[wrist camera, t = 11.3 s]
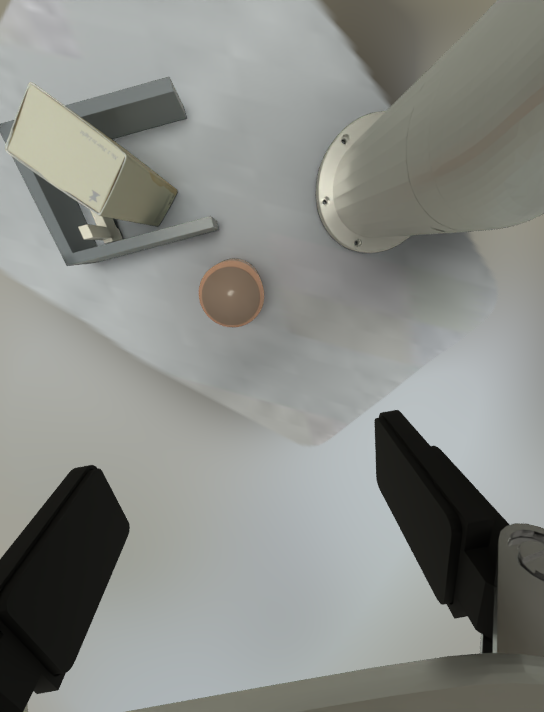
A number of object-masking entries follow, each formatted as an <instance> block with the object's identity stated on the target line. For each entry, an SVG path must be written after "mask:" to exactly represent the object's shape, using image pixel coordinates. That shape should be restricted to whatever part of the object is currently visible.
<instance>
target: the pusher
mask: <svg viewBox="0 0 544 712" xmlns="http://www.w3.org/2000/svg"><path fill="white" fill-rule="evenodd" d="M90 211H91V210H90ZM91 213H92V215H93V218H94V220H95V222H96V225H97V226H96V225H88V224H87V225H83V226H80V227H78V228H79V230H80V232H81V234H82V236H83V238H84V239H85V240H103V241H104V243H112V242H116V241H120V240H121V239H123V238H122V236H121V233H120V231H119V229H118V228H116V225H115V223H114V220H113V218H109V217H103V216H99V215H97V214H96V213H94V212H93V211H91Z"/></svg>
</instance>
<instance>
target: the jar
mask: <svg viewBox="0 0 544 712" xmlns="http://www.w3.org/2000/svg"><path fill="white" fill-rule="evenodd" d="M199 300H200V304H201V306H202V308H203V310H204V312H205V313H206V315H207V316H208V317H209V318H210V319H211V320H213V321H214V322H216V323H218V324H220V325H222V326H226V327H239V326H243V325H246V324H248V323H249V322H251V321H252V320H253V319H255V318H256V316H257V315H258V314H259V312H260V311H261V309H262V306H263V302H264V290H263V286H262V283H261V279H260V276H259V274H258V272H257V271H256V269H255V268H254V267H253V266H252V265H251V264H250V263H248V262H246V261H244V260H242V259H235V258H233V259H227V260H224V261H222V262H220V263H219V264H217V265H215V266H213V267H212V268H211V269H209V270H208V271H207V272H206V274H205V275H204V277H203V278H202V280H201V283H200V287H199Z"/></svg>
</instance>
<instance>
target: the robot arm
mask: <svg viewBox="0 0 544 712" xmlns="http://www.w3.org/2000/svg"><path fill="white" fill-rule="evenodd" d="M341 140H344V141H345V145H343V144H342V142H341ZM323 200H325V201H326V205H323V203H322V201H323ZM316 202H317V209H318V212H319V215H320V219H321V221H322V223H323V225H324V227H325V229H326V230H327V231H328V233H329V234H330V235H331V236H332V238H333V239H334V240H336V241H337V242H338V243H339V244H340V245H342V246H344V247H346V248H348V249H350V250H353V251H357V252H364V253H374V252H381V251H385V250H389V249H391V248H393V247H395V246H397V245H399V244H401V243H402V242H403V241H405V240H406V239H408V238H409V237H410V236H411V235H425V234H441V233H457V232H471V231H482V230H493V229H501V228H506V227H510V226H514V225H518V224H521V223H524V222H526V221H529V220H531V219H534V218H536V217H538V216H540V215H542V214H544V0H497V1H496V2H495V3H494V4H493V5H492V6H491V8H490V9H489V10H488V11H487V12H486V13H485V14H484V15H483V16H482V17H481V18H480V19H479V20H478V21H477V22H476V23H475V24H474V25H473V26H472V27H471V28H470V29H469V30H468V31H467V32H466V33H465V34H464V35H463V36H462V37H461V38H460V39H459V40H458V41H457V42H456V43H455V44H454V45H453V46H452V47H451V48H450V49H449V50H448V51H447V52H446V53H445V54H444V55H443V56H442V57H441V58H440V59H439V60H438V61H437V62H436V63H435V64H434V65H433V66H432V67H431V68H430V69H429V70H428V71H426V73H424V74H423V75H422V76H421V77H420V78H419V79H418V80H417V81H416V82H415V83H414V84H413V85H412V86H411V87H410V88H409V89H408V90H407V91H406V92H405V93H404V94H403V95H402V96H401V97H400V98H399V99H398V100H397V101H396V102H395V103H394V104H393V105H392V106H391V107H390V108H389V109H388V110H387V111H381V112H374V113H370V114H368V115H365V116H362V117H360V118H358V119H357V120H355V121H354V122H352V123H351V124H349V125H348V126H347V127H346V128H345V129H344V130H343V131H342V132H341V133H340V134H338V136H337V137H336V138H335V139H334V141H333V142H332V143H331V145H330V147H329V148H328V150H327V152H326V153H325V155H324V157H323V160H322V162H321V165H320V168H319V172H318V176H317V181H316ZM354 241H357V245H354ZM375 447H376V477H377V483H378V486H379V488H380V491H381V493H382V495H383V496H384V498H385V500H386V502H387V504H388V506H389V508H390V510H391V511H392V514H393V516H394V517H395V519H396V521H397V523H398V525H399V527H400V529H401V531H402V533H403V535H404V537H405V539H406V541H407V543H408V544H409V546H410V548H411V550H412V552H413V553H414V556H415V558H416V560H417V562H418V564H419V565H420V567H421V569H422V571H423V573H424V575H425V577H426V579H427V581H428V583H429V585H430V586H431V589H432V590H433V592H434V594H435V596H436V598H437V600H438V601H439V602H440V603H441V604H447V606H448V607H449V609H450V611H451V613H452V615H453V617H454V618H460V617H465V616H468V617H469V619H470V621H471V622H472V624H473V626H474V628H475V629H476V630H477V631H478V632H480V633H481V642H480V654H470V655H459V656H447V657H440V658H434V659H427V660H420V661H414V662H407V663H400V664H395V665H387V666H380V667H374V668H368V669H363V670H357V671H352V672H345V673H340V674H334V675H329V676H322V677H317V678H311V679H305V680H299V681H294V682H288V683H282V684H277V685H271V686H265V687H259V688H255V689H249V690H243V691H237V692H232V693H226V694H221V695H215V696H209V697H205V698H198V699H193V700H187V701H182V702H176V703H171V704H165V705H160V706H155V707H149V708H143V709H138V710H132V711H127V712H544V529H543V528H541V527H538V526H534V525H529V524H512V525H509V524H508V523H507V521H506V520H505V519H504V518H503V517H502V516H501V515H500V514H499V513H498V512H497V511H496V509H495V508H494V507H492V505H491V504H490V503H489V502H488V501H487V500H486V499H485V497H484V496H483V495H482V494H481V493H480V492H479V491H478V490H477V489H476V488H475V487H474V485H473V484H472V483H471V482H470V481H469V480H468V479H467V478H466V477H465V476H464V475H463V474H462V472H461V471H460V470H459V469H458V468H457V467H456V466H455V465H454V464H453V463H452V462H451V460H450V459H449V458H448V457H447V456H446V455H445V454H444V453H443V452H442V451H441V450H440V449H439V448H438V447H436V446H430V445H429V444H428V443H427V442H426V441H425V439H424V438H423V437H422V436H421V435H420V434H419V433H418V431H416V429H415V428H414V427H413V426H412V425H411V424H410V422H409V421H408V420H407V419H406V418H405V417H404V416H403V414H402V413H401V412H400V411H399V410H394V411H388V412H383V413H380V415H379V418H376V419H375ZM129 528H130V527H129V522H128V520H127V518H126V516H125V514H124V513H123V511H122V509H121V507H120V505H119V503H118V501H117V499H116V497H115V495H114V493H113V491H112V489H111V487H110V485H109V484H108V482H107V480H106V478H105V476H104V474H103V472H102V470H101V469H97V467H96V466H94V465H89V466H84V467H78V468H74V469H73V470H71V471H70V472H69V474H68V475H67V476H66V477H65V479H64V480H63V481H62V483H61V484H60V485H59V486H58V487H57V489H56V490H55V491H54V492H53V494H52V495H51V496H50V497H49V499H48V500H47V501H46V503H45V504H44V505H43V506H42V508H41V509H40V510H39V511H38V513H37V514H36V515H35V516H34V518H33V519H32V520H31V521H30V523H29V524H28V525H27V526H26V528H25V529H24V530H23V531H22V533H21V534H20V535H19V537H18V538H17V539H16V540H15V541H14V543H13V544H12V545H11V546H10V548H9V549H8V550H7V551H6V553H5V554H4V555H3V557H2V558H1V559H0V712H28V708H27V703H28V701H29V698H30V696H31V694H32V692H33V691H34V692H35V693H37V694H39V693H45V692H51V691H56V690H59V687H60V685H61V683H62V680H63V678H64V676H65V673H66V672H68V671H69V670H70V669H71V667H72V666H73V664H74V662H75V660H76V657H77V655H78V653H79V650H80V648H81V645H82V643H83V641H84V639H85V636H86V634H87V631H88V629H89V627H90V624H91V622H92V619H93V617H94V615H95V613H96V610H97V608H98V605H99V603H100V601H101V598H102V596H103V594H104V591H105V589H106V586H107V584H108V582H109V579H110V577H111V575H112V572H113V570H114V568H115V565H116V563H117V561H118V558H119V556H120V553H121V551H122V549H123V546H124V544H125V541H126V539H127V537H128V534H129Z"/></svg>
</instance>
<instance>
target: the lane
mask: <svg viewBox="0 0 544 712" xmlns="http://www.w3.org/2000/svg"><path fill="white" fill-rule="evenodd" d="M66 107H67V108H69V109H70V110H71V111H73V112H74V113H76V114H77V115H78V116H80V117H81V118H83V119H84V120H85V121H87V122H88V123H90V124H91V125H92V126H94V127H95V128H96V129H98V130H99V131H101V132H102V133H103V134H105V135H106V136H108V137H109V138H110V139H113V138H117V137H120V136H124V135H128V134H131V133H135V132H139V131H142V130H146V129H149V128H153V127H157V126H160V125H164V124H168V123H171V122H175V121H178V120H182V119H186V118H187V117H186V113H185V110H184V106H183V104H182V102H181V100H180V98H179V96H178V94H177V92H176V90H175V88H174V85H173V83H172V81H171V79H170V77H166V78H162V79H159V80H155V81H152V82H148V83H144V84H141V85H137V86H134V87H130V88H127V89H123V90H119V91H116V92H112V93H109V94H105V95H102V96H98V97H94V98H91V99H87V100H84V101H80V102H76V103H73V104H69V105H66ZM13 123H14V120H12V121H8V122H5V123H1V124H0V133H1V135H2V137H3V139H4V141H5V143H6V142H7V139H8V137H9V134H10V131H11V128H12V126H13ZM13 159H14V161H15V163H16V165H17V167H18V169H19V171H20V173H21V175H22V177H23V179H24V181H25V183H26V185H27V187H28V189H29V191H30V193H31V195H32V197H33V199H34V201H35V203H36V205H37V207H38V209H39V211H40V213H41V215H42V217H43V219H44V221H45V223H46V225H47V227H48V229H49V231H50V233H51V235H52V237H53V239H54V241H55V243H56V245H57V247H58V249H59V251H60V253H61V255H62V257H63V259H64V261H65V263H66V265H67V266H71V265H80V264H89V263H96V262H100V261H104V260H107V259H111V258H115V257H119V256H122V255H126V254H130V253H134V252H137V251H141V250H145V249H149V248H152V247H156V246H160V245H164V244H167V243H171V242H175V241H179V240H182V239H186V238H190V237H194V236H197V235H201V234H205V233H209V232H212V231H216V230H219V228H218V224H217V221H216V220H215V219H214V218H212V217H211V216H209V217H205V218H202V219H198V220H194V221H191V222H187V223H183V224H179V225H176V226H172V227H168V228H164V229H161V230H157V231H153V232H149V233H146V234H142V235H138V236H135V237H131V238H127V239H123V240H120V241H116V242H112V243H108V244H105V245H101V246H97V245H96V243H95V240H85V239H84V238H83V236H82V234H81V232H80V230H79V228H78V227H80V226H83V225H87V223H86V220H85V218H84V216H83V214H82V212H81V209H80V207H79V205H78V203H77V201H76V200H74V199H73V198H71V197H70V196H68V195H67V194H65V193H64V192H62V191H61V190H59V189H58V188H56V187H55V186H53V185H52V184H50V183H49V182H48V181H46V180H45V179H43V178H42V177H40V176H39V175H38V174H36V173H35V172H33V171H32V170H31V169H29V168H28V167H26V166H25V165H23V164H22V163H21V162H19V161H18V160H16V159H15V158H14V157H13Z"/></svg>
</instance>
